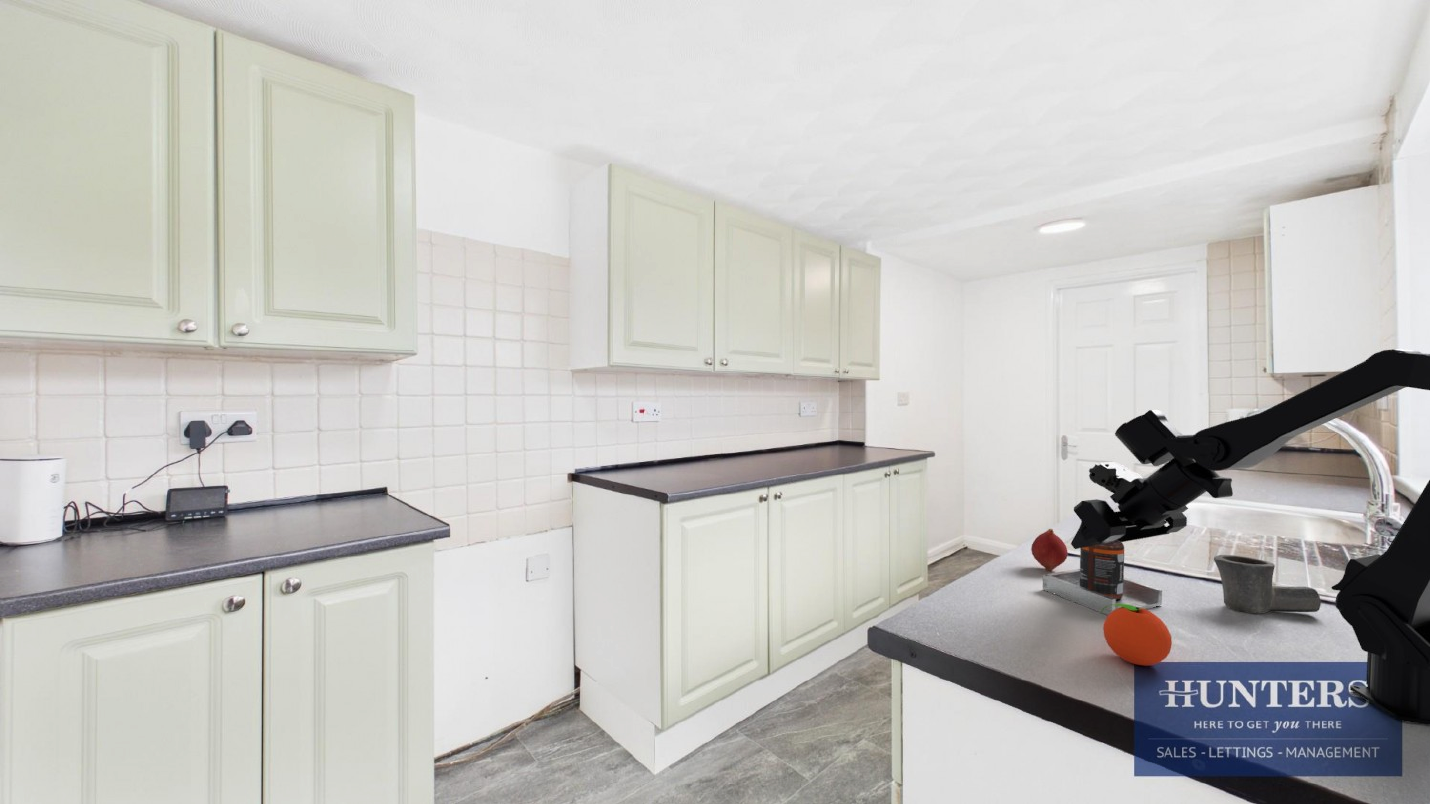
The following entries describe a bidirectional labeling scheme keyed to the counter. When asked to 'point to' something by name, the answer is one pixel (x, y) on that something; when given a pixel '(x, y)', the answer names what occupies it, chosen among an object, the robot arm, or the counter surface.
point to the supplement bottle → (1103, 568)
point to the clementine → (1137, 635)
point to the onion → (1049, 550)
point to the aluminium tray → (1071, 590)
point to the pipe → (1260, 588)
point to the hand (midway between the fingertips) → (1092, 543)
